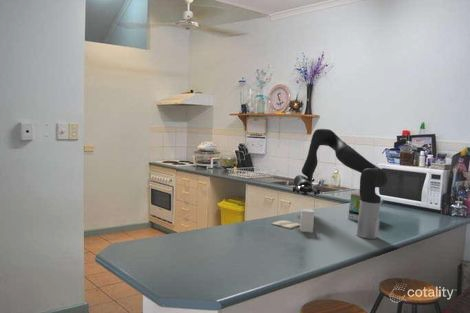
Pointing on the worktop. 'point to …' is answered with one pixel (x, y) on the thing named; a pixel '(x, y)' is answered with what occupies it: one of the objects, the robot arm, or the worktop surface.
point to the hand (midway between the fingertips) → (307, 192)
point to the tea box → (354, 206)
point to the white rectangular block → (306, 220)
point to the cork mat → (286, 224)
